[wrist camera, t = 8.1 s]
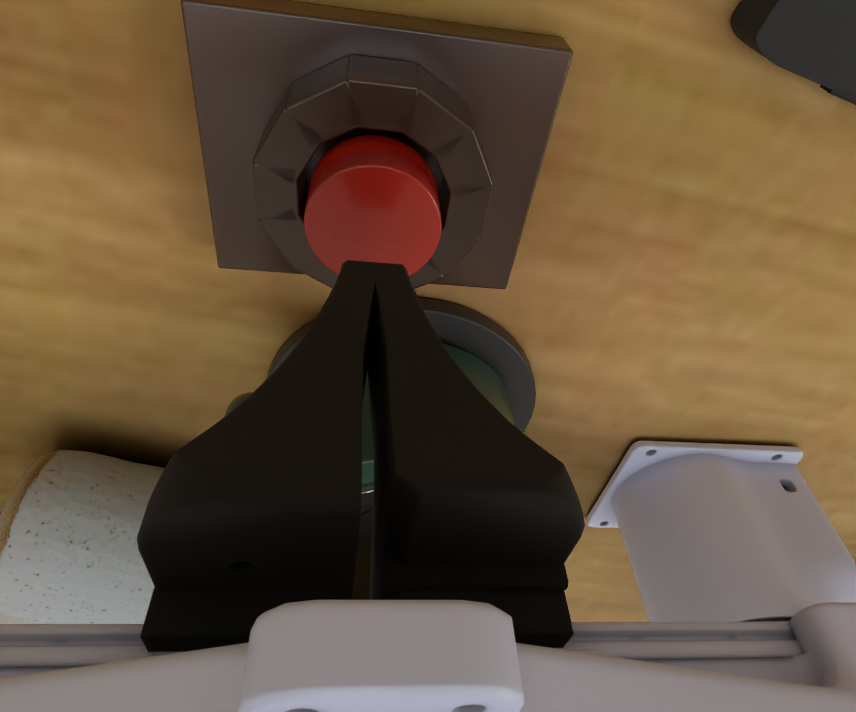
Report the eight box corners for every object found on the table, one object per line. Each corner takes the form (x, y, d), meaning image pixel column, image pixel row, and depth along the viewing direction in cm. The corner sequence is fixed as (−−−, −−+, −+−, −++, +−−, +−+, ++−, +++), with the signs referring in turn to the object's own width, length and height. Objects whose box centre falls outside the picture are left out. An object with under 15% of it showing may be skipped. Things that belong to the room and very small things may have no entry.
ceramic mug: (45, 410, 26) (-47, 581, 20) (233, 451, 28) (196, 611, 23) (40, 522, 32) (-30, 674, 27) (193, 547, 35) (157, 689, 30)
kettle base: (425, 241, 21) (426, 254, 20) (578, 407, 28) (582, 420, 27) (208, 390, 25) (204, 403, 25) (386, 499, 32) (385, 512, 32)
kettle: (579, 451, 28) (638, 649, 22) (424, 521, 32) (435, 708, 26) (352, 234, 19) (336, 466, 13) (174, 369, 23) (91, 600, 16)
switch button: (446, 141, 15) (452, 172, 14) (428, 254, 18) (432, 289, 17) (309, 126, 15) (302, 157, 14) (310, 244, 17) (304, 280, 16)
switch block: (564, 37, 16) (592, 74, 14) (501, 270, 22) (514, 322, 20) (191, -14, 15) (158, 19, 13) (224, 248, 20) (206, 302, 18)
